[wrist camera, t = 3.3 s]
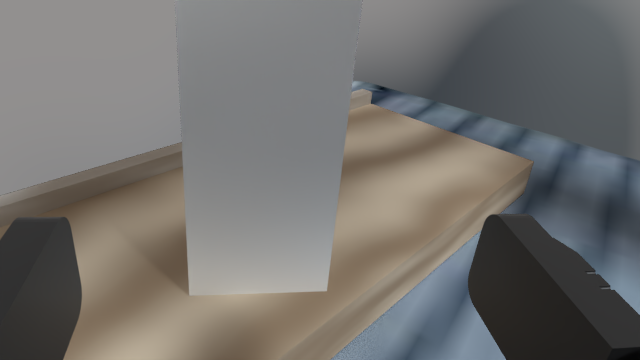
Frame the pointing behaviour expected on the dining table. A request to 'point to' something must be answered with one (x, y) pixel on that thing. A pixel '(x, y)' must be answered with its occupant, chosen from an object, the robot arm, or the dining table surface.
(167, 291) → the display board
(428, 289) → the dining table surface
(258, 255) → the carton
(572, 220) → the dining table surface
